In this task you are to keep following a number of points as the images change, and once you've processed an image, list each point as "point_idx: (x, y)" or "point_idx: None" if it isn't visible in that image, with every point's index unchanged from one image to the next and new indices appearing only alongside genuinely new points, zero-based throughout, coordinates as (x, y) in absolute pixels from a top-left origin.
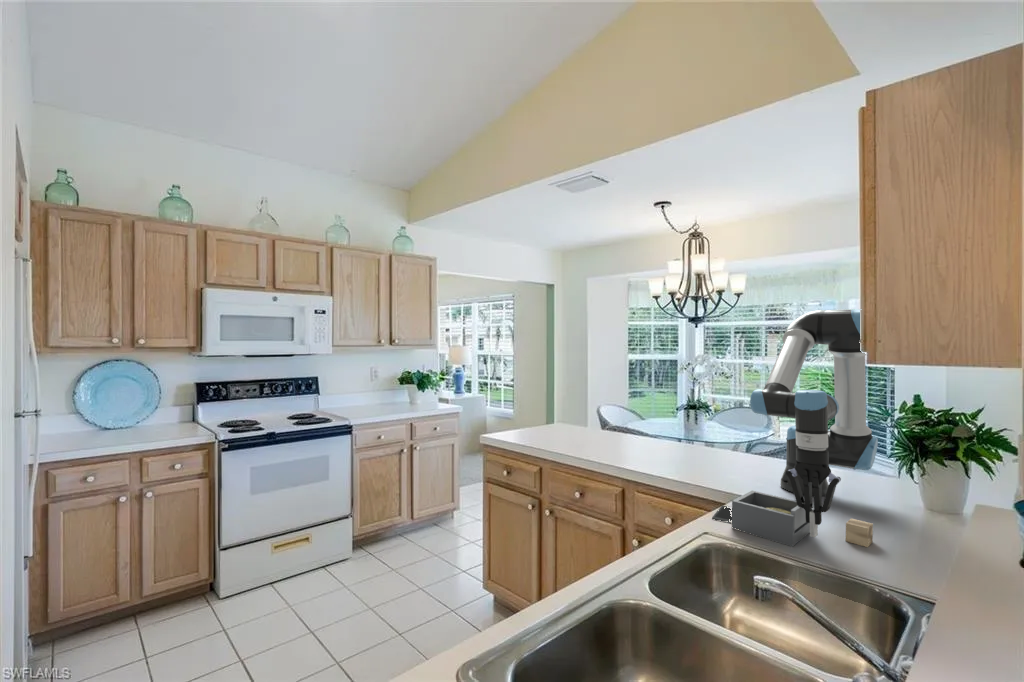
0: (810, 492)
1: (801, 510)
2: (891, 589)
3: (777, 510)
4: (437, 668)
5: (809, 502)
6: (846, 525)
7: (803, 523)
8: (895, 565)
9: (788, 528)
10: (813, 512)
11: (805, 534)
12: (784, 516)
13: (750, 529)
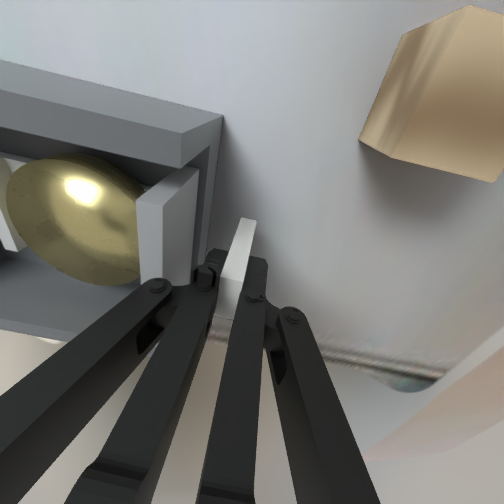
0: (178, 407)
1: (171, 267)
2: (387, 369)
3: (62, 201)
4: None
5: (199, 358)
6: (387, 155)
7: (196, 200)
8: (460, 267)
9: None
10: (230, 314)
11: (214, 176)
12: None
13: None
